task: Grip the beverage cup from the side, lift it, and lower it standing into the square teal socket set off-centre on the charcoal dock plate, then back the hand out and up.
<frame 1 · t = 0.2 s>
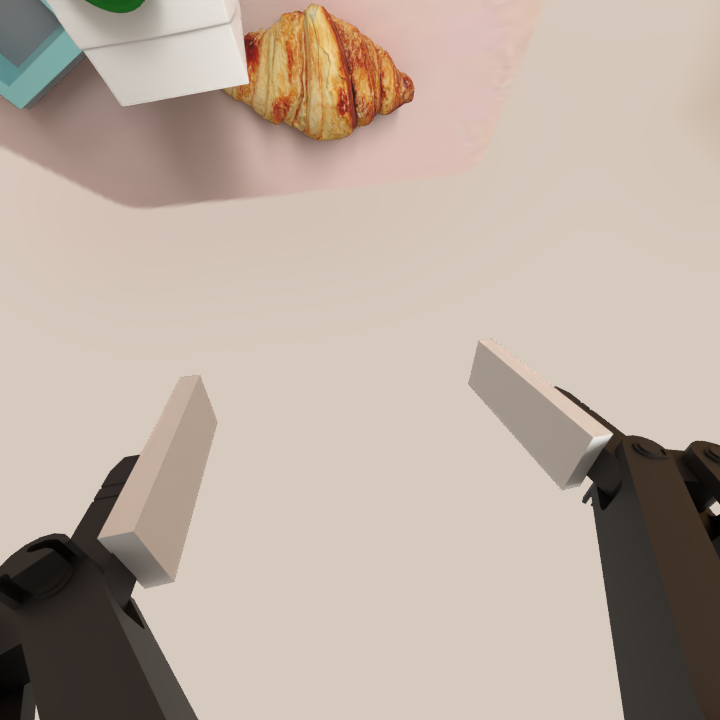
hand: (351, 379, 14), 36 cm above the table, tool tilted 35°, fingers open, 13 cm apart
croissant: (313, 65, 31), on the table
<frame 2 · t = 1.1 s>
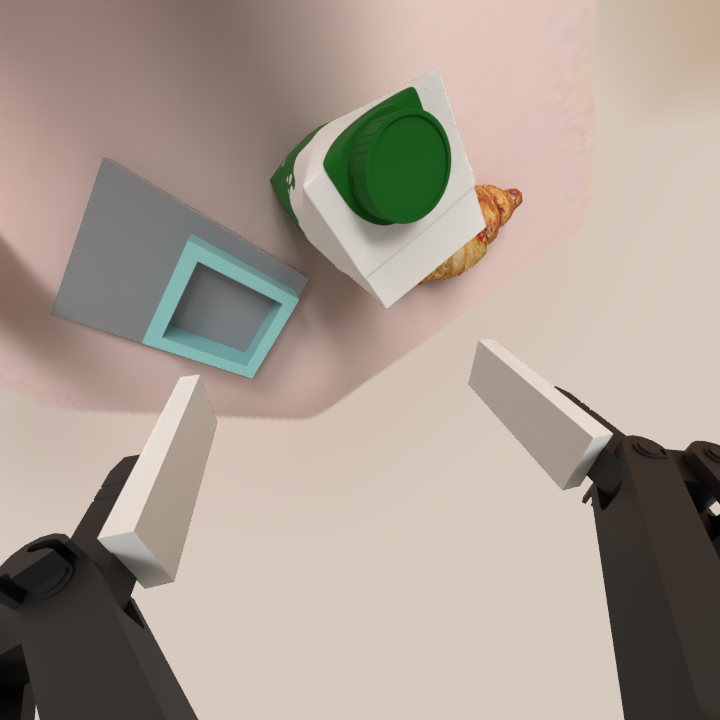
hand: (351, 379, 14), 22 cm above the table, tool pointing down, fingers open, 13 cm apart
milk carton: (321, 191, 29), on the table
dock: (195, 290, 30), on the table
croissant: (429, 231, 36), on the table
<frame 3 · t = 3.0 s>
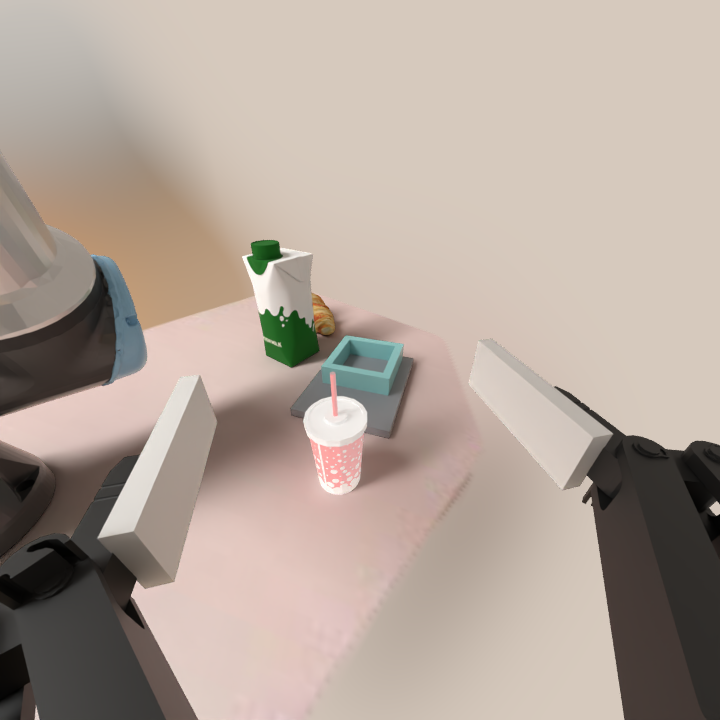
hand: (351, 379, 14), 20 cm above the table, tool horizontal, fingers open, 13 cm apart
beverage cup: (339, 476, 33), on the table
milk carton: (293, 354, 55), on the table
dock: (359, 386, 46), on the table
croissant: (306, 323, 67), on the table
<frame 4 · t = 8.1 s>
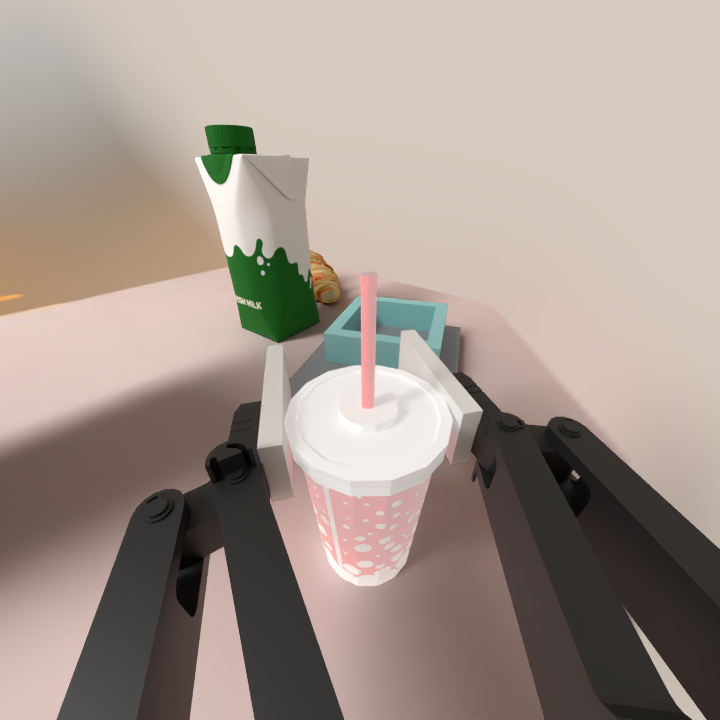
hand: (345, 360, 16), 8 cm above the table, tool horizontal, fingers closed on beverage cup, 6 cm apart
beverage cup: (366, 538, 16), on the table, touching gripper
milk carton: (282, 326, 38), on the table
dock: (383, 367, 29), on the table
croissant: (302, 291, 50), on the table
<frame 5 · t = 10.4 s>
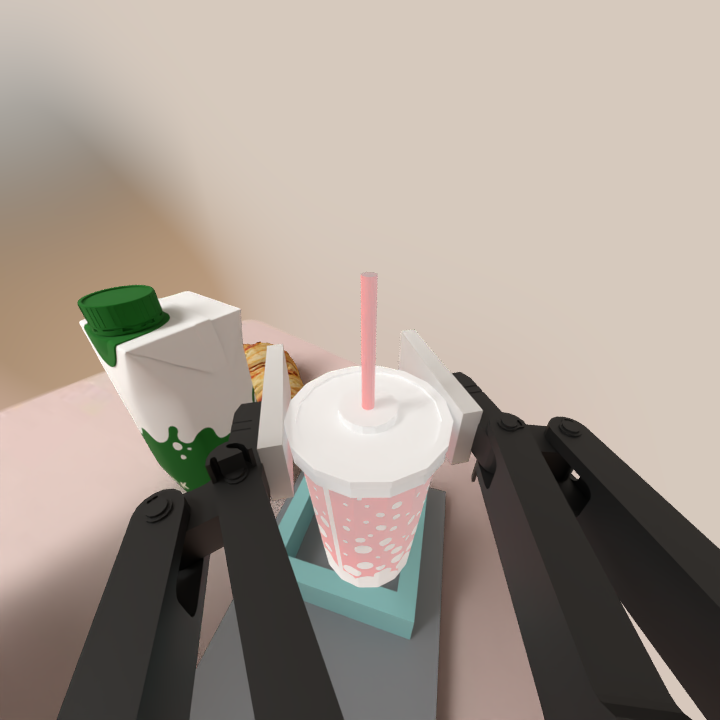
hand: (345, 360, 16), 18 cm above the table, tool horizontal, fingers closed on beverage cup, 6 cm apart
beverage cup: (367, 539, 16), point 10 cm above the table, touching gripper
milk carton: (227, 473, 31), on the table
dock: (344, 582, 22), on the table
croissant: (264, 391, 43), on the table
when the fingers open (10 cm above the table, at t = 12.8 s): beverage cup drops 1 cm, resting on dock.
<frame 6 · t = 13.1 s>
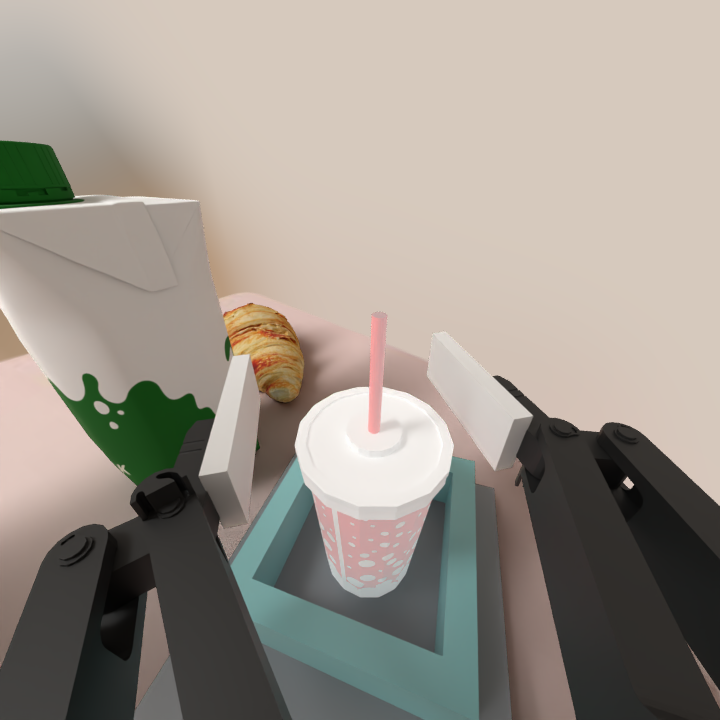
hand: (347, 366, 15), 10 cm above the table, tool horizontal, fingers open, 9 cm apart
beverage cup: (368, 549, 16), point 1 cm above the table, touching dock
milk carton: (198, 457, 23), on the table
dock: (350, 621, 15), on the table
croissant: (257, 364, 35), on the table
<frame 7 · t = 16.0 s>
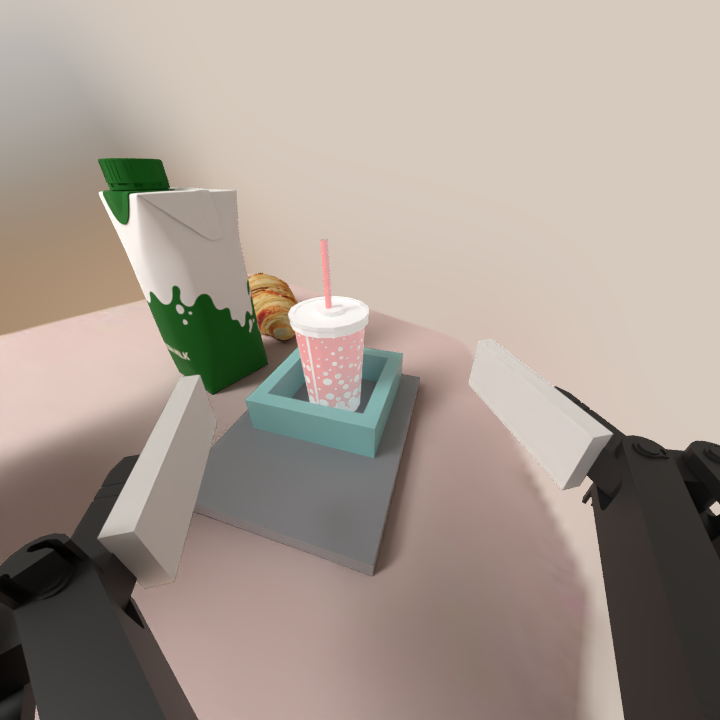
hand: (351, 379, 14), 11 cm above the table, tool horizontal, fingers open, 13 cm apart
beverage cup: (335, 402, 27), point 1 cm above the table, touching dock
milk carton: (225, 369, 34), on the table
dock: (322, 432, 25), on the table
croissant: (265, 320, 46), on the table
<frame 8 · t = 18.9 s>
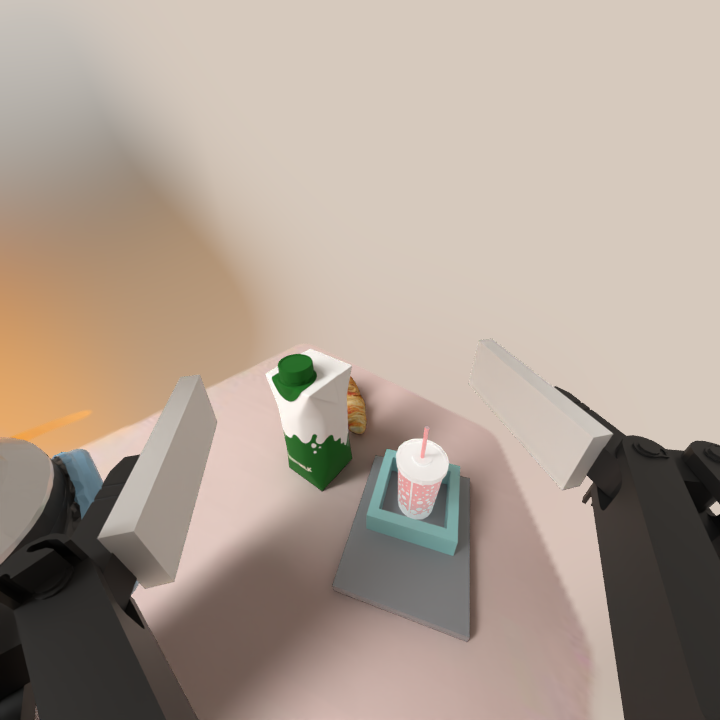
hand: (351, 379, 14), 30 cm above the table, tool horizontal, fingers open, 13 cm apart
beverage cup: (415, 503, 39), point 1 cm above the table, touching dock
milk carton: (321, 463, 46), on the table
dock: (410, 529, 37), on the table
croissant: (333, 405, 58), on the table
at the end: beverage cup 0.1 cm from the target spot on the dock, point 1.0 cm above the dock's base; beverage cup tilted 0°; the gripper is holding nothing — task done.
